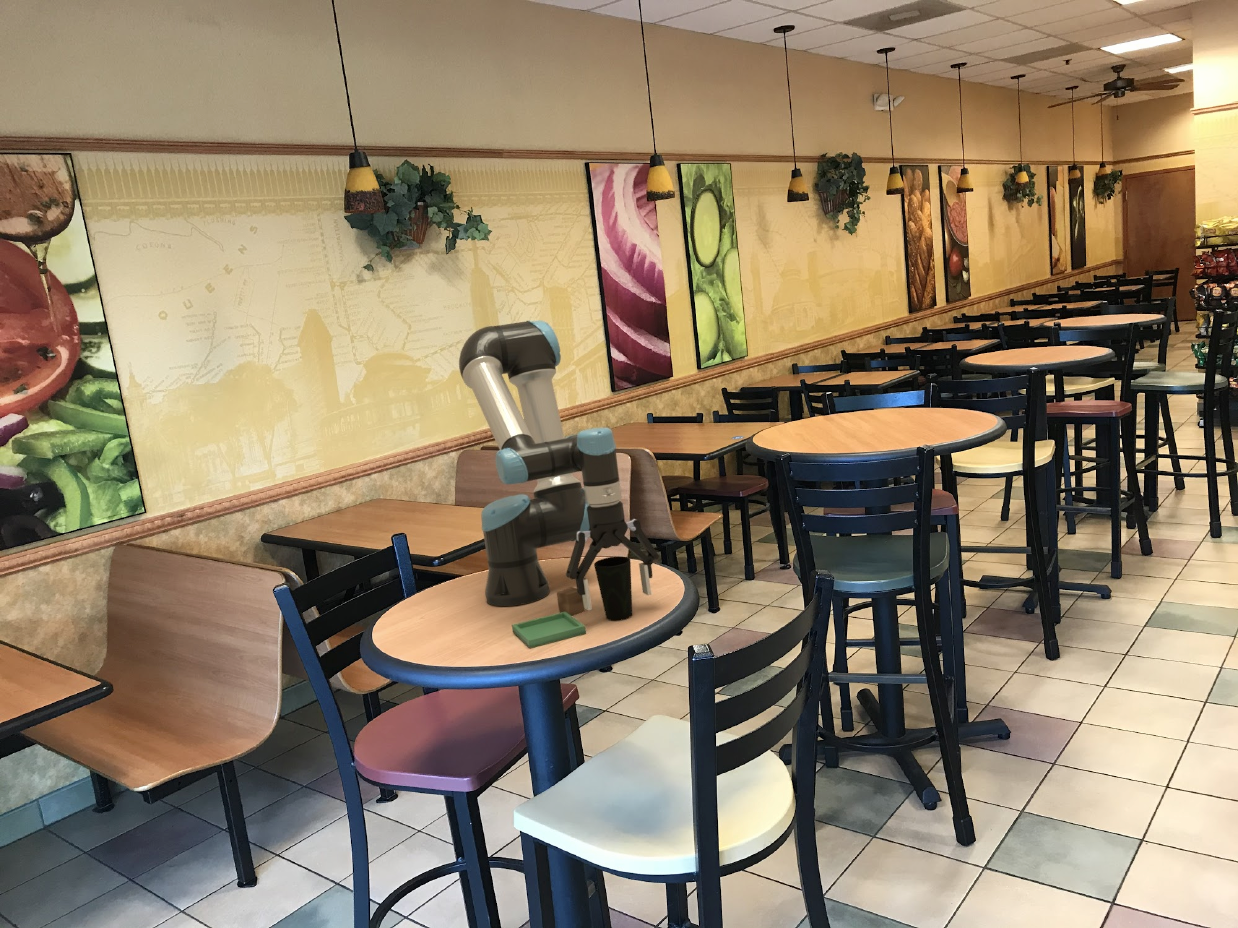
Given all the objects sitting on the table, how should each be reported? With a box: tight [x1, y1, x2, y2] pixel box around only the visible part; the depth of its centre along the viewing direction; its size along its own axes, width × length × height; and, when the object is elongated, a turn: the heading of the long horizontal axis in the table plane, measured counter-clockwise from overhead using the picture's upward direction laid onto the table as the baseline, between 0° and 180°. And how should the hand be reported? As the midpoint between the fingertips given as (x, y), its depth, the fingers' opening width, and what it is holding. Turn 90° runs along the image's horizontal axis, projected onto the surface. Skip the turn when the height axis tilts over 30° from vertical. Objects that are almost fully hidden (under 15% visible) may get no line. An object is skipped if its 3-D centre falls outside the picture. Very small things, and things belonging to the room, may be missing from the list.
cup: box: [593, 555, 633, 622], centre depth 197 cm, size 8×8×12 cm
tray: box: [511, 612, 587, 649], centre depth 193 cm, size 12×12×2 cm
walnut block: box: [556, 586, 586, 617], centre depth 204 cm, size 4×4×5 cm
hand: (617, 601), depth 197 cm, fingers open, 13 cm apart
